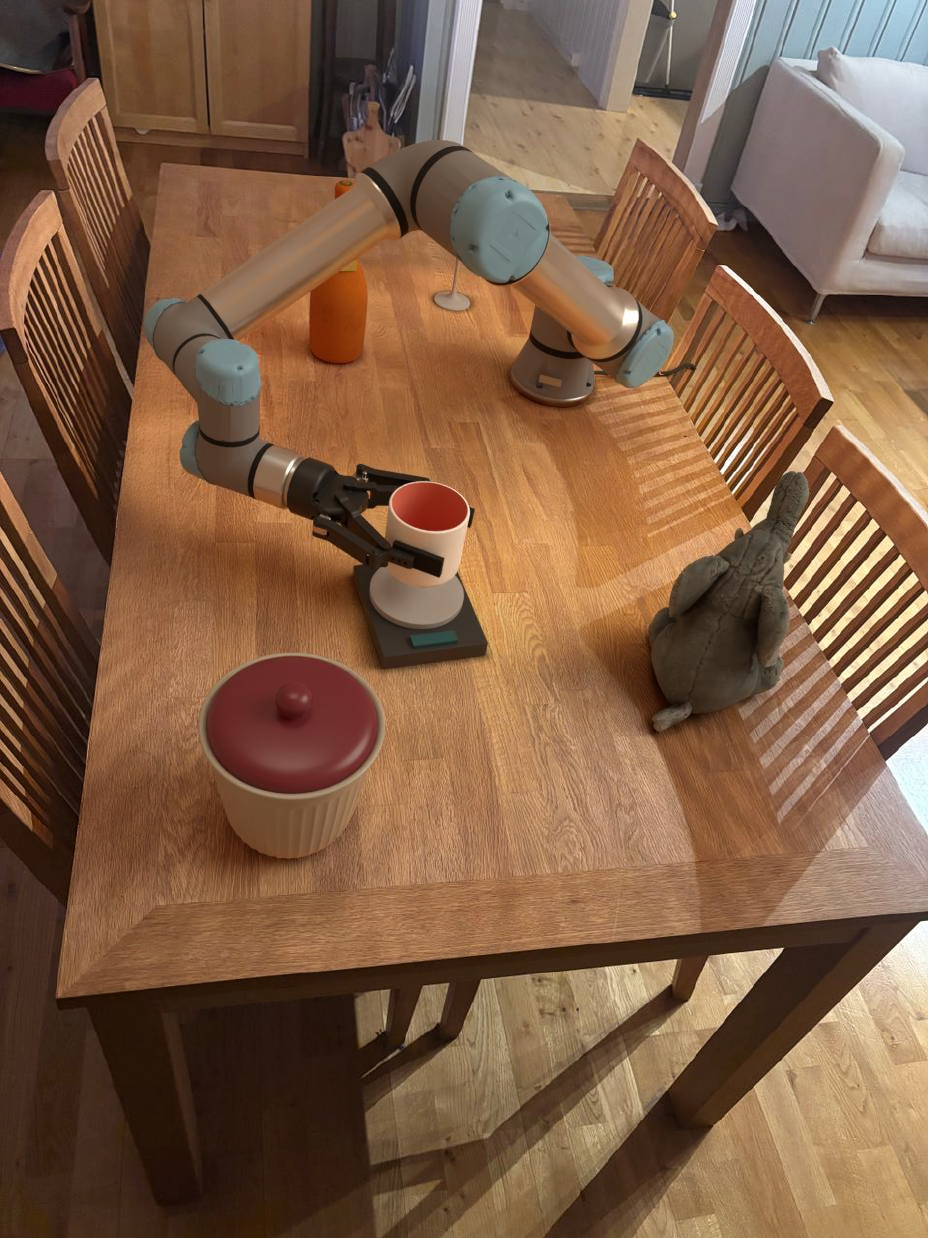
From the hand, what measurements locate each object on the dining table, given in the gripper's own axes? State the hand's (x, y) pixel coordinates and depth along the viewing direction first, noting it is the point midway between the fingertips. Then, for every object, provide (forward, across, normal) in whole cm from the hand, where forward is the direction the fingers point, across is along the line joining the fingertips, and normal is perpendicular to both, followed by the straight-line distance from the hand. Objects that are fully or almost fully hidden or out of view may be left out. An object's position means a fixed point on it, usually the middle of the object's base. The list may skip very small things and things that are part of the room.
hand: (457, 542), depth 121 cm
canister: (-4, +36, -14) cm, 39 cm away
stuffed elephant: (+35, -7, -14) cm, 38 cm away
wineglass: (-31, -83, -14) cm, 89 cm away
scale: (-3, +1, -14) cm, 14 cm away
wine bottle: (-42, -53, -14) cm, 69 cm away
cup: (-4, 0, -6) cm, 8 cm away
